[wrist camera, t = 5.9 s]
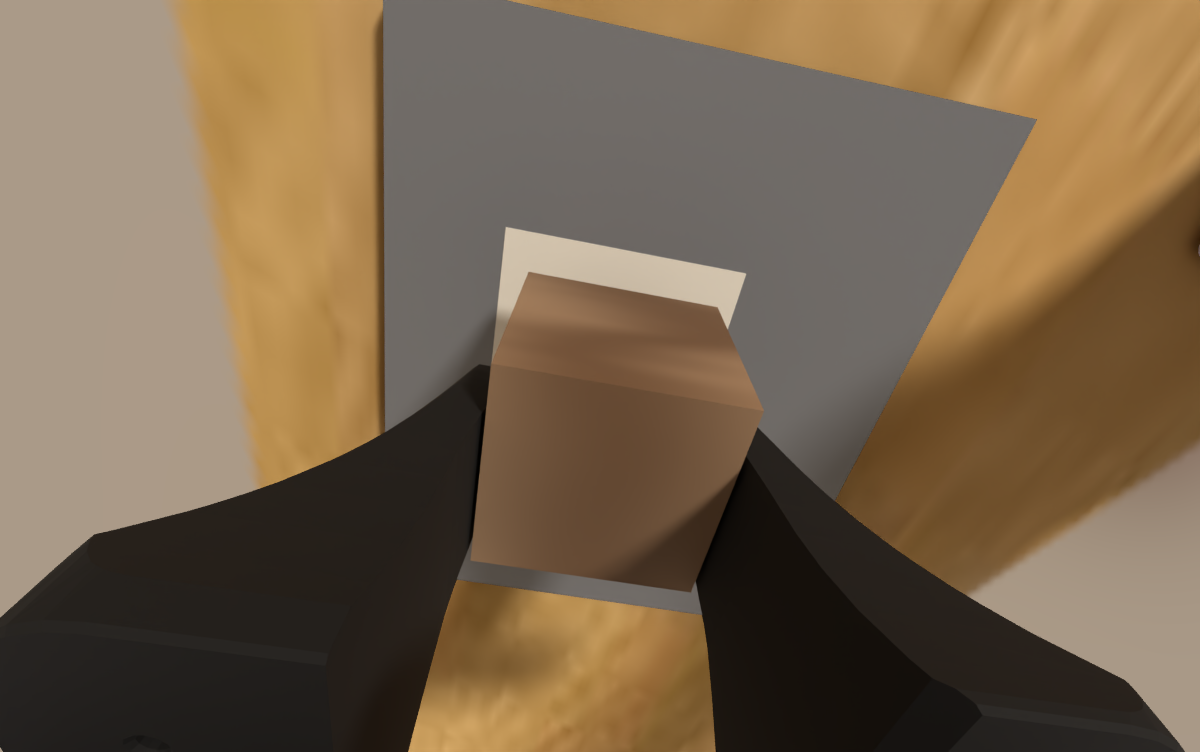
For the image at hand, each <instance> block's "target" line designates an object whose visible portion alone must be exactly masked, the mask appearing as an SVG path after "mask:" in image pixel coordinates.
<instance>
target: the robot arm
mask: <svg viewBox="0 0 1200 752" xmlns="http://www.w3.org/2000/svg"><path fill="white" fill-rule="evenodd" d="M1198 254H1199V256H1200V245H1199V251H1198ZM490 369H491V366H487V365H481V364H479V365H477V366H476V367H474V368H473V369H471V370H470V371H469V372H468V373H467V374H465V375H464V376H463V377H462V378H460V379H459V380H458V381H457V382H456V383H454V384H453V385H452V386H451V387H449V388H448V389H447V390H445V391H444V392H443V393H442V394H440V395H439V396H438V397H436V398H435V399H434V400H432V401H431V402H429V403H428V404H427V405H425V406H424V407H423V408H421V409H420V410H418V411H417V412H416V413H414V414H413V415H411V416H410V417H408V418H406V419H405V420H403V421H402V422H400V423H399V424H397V425H396V426H394V427H393V428H391V429H389V430H388V431H386V432H385V433H383V434H381V435H380V436H378V437H376V438H374V439H373V440H371V441H369V442H367V443H365V444H363V445H361V446H359V447H357V448H355V449H353V450H351V451H349V452H347V453H345V454H343V455H341V456H339V457H337V458H335V459H333V460H331V461H328V462H326V463H323V464H321V465H319V466H316V467H314V468H311V469H309V470H307V471H304V472H302V473H299V474H297V475H295V476H292V477H290V478H287V479H285V480H283V481H280V482H277V483H274V484H272V485H269V486H266V487H263V488H260V489H257V490H255V491H252V492H249V493H246V494H243V495H240V496H237V497H234V498H230V499H227V500H224V501H221V502H218V503H214V504H211V505H208V506H205V507H201V508H198V509H194V510H191V511H187V512H183V513H180V514H175V515H171V516H167V517H164V518H160V519H156V520H152V521H148V522H144V523H140V524H136V525H132V526H128V527H125V528H120V529H117V530H112V531H108V532H103V533H99V534H95V535H93V536H92V537H91V538H90V539H88V540H87V541H86V542H85V543H84V544H82V545H81V546H80V547H79V548H78V549H77V550H75V551H74V552H73V553H72V554H71V555H70V556H68V557H67V558H66V559H65V560H64V561H63V562H62V563H60V564H59V565H58V566H57V567H56V568H55V569H54V570H53V571H52V572H50V573H49V574H48V575H47V576H46V577H45V578H44V579H43V580H41V581H40V582H39V583H38V584H37V585H36V586H35V587H34V588H33V589H31V590H30V591H29V592H28V593H27V594H26V595H25V596H24V597H23V598H22V599H20V600H19V601H18V602H17V603H16V604H15V605H14V606H13V607H12V608H10V609H9V610H8V611H7V612H6V613H5V614H4V615H3V616H2V617H0V748H1V749H2V751H3V752H408V750H409V746H410V742H411V738H412V734H413V731H414V727H415V723H416V719H417V715H418V711H419V708H420V704H421V700H422V696H423V693H424V689H425V685H426V681H427V678H428V674H429V670H430V666H431V663H432V659H433V655H434V652H435V648H436V644H437V641H438V637H439V633H440V630H441V626H442V622H443V619H444V615H445V612H446V609H447V606H448V603H449V600H450V597H451V594H452V591H453V588H454V585H455V583H456V580H457V577H458V575H459V572H460V570H461V567H462V564H463V562H464V559H465V557H466V554H467V551H468V549H469V546H470V544H471V541H472V538H473V532H474V522H475V513H476V503H477V494H478V484H479V474H480V465H481V455H482V446H483V436H484V427H485V417H486V408H487V398H488V389H489V379H490ZM696 586H697V591H698V596H699V601H700V607H701V612H702V617H703V622H704V628H705V634H706V641H707V647H708V658H709V669H710V680H711V691H712V703H713V717H714V732H715V746H716V752H1185V751H1184V750H1183V748H1182V747H1181V746H1180V744H1179V743H1178V742H1177V740H1176V739H1175V738H1174V737H1173V735H1172V734H1171V733H1170V732H1169V731H1168V729H1167V728H1166V727H1165V726H1164V725H1163V723H1162V722H1161V721H1160V720H1159V719H1158V717H1157V716H1156V715H1155V714H1154V713H1153V712H1152V710H1151V709H1150V708H1149V707H1148V705H1147V704H1146V703H1145V702H1144V701H1143V699H1142V698H1141V697H1140V696H1139V695H1138V693H1137V692H1136V691H1135V690H1134V689H1133V688H1132V687H1131V686H1130V685H1129V683H1127V682H1126V681H1125V680H1124V679H1122V678H1120V677H1118V676H1116V675H1113V674H1112V673H1110V672H1108V671H1106V670H1104V669H1102V668H1100V667H1098V666H1096V665H1094V664H1092V663H1090V662H1088V661H1086V660H1084V659H1082V658H1080V657H1078V656H1076V655H1074V654H1072V653H1070V652H1068V651H1066V650H1064V649H1062V648H1060V647H1058V646H1056V645H1054V644H1052V643H1050V642H1048V641H1046V640H1044V639H1042V638H1040V637H1038V636H1036V635H1034V634H1032V633H1030V632H1029V631H1027V630H1025V629H1023V628H1021V627H1020V626H1018V625H1016V624H1015V623H1013V622H1011V621H1009V620H1007V619H1006V618H1004V617H1002V616H1000V615H999V614H997V613H995V612H993V611H992V610H990V609H988V608H986V607H985V606H983V605H981V604H979V603H978V602H976V601H974V600H973V599H971V598H969V597H968V596H966V595H965V594H963V593H961V592H960V591H958V590H956V589H955V588H953V587H951V586H950V585H948V584H947V583H945V582H944V581H942V580H941V579H939V578H938V577H936V576H935V575H933V574H931V573H930V572H928V571H927V570H925V569H924V568H922V567H921V566H919V565H918V564H916V563H915V562H913V561H912V560H910V559H909V558H907V557H906V556H905V555H903V554H902V553H900V552H899V551H897V550H896V549H895V548H893V547H892V546H890V545H889V544H888V543H886V542H885V541H884V540H883V539H881V538H880V537H879V536H877V535H876V534H875V533H873V532H872V531H871V530H869V529H868V528H867V527H866V526H864V525H863V524H862V523H860V522H859V521H858V520H856V519H855V518H854V517H853V516H852V515H850V514H849V513H848V512H847V511H846V510H844V509H843V508H842V507H841V506H840V505H839V504H837V503H836V502H835V501H834V500H833V499H832V498H831V497H829V496H828V495H827V494H826V493H825V492H824V491H823V490H822V489H820V488H819V487H818V486H817V485H816V484H815V483H814V482H813V481H812V480H811V479H810V478H809V477H807V476H806V475H805V474H804V473H803V472H802V471H801V470H800V469H799V468H798V467H797V466H796V465H795V464H794V463H793V462H792V461H791V460H790V459H789V458H788V457H787V456H786V455H785V454H784V453H783V452H782V451H781V450H780V449H779V448H778V447H777V446H776V445H775V444H774V443H773V442H772V441H771V440H770V439H769V438H768V437H767V436H766V435H765V434H764V433H763V432H762V431H761V430H760V429H759V428H758V427H757V430H756V432H755V435H754V437H753V440H752V442H751V445H750V447H749V450H748V452H747V455H746V457H745V460H744V462H743V465H742V467H741V470H740V472H739V475H738V477H737V479H736V482H735V484H734V487H733V489H732V492H731V494H730V497H729V499H728V502H727V504H726V507H725V509H724V512H723V514H722V517H721V519H720V522H719V524H718V527H717V529H716V532H715V534H714V537H713V539H712V542H711V544H710V547H709V549H708V552H707V554H706V556H705V559H704V561H703V564H702V566H701V569H700V571H699V574H698V576H697V579H696Z"/></svg>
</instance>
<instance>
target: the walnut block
mask: <svg viewBox="0 0 1200 752" xmlns="http://www.w3.org/2000/svg"><path fill="white" fill-rule="evenodd" d="M763 412H764V410H763V407H762V405H761V403H760V401H759V398H758V396H757V394H756V392H755V389H754V387H753V385H752V383H751V381H750V378H749V376H748V374H747V372H746V369H745V367H744V365H743V363H742V360H741V358H740V356H739V354H738V352H737V349H736V347H735V345H734V343H733V340H732V338H731V336H730V334H729V331H728V329H727V327H726V325H725V323H724V320H723V318H722V316H721V314H720V311H719V309H718V307H714V306H709V305H703V304H698V303H693V302H687V301H682V300H677V299H671V298H666V297H661V296H655V295H650V294H645V293H639V292H634V291H629V290H623V289H618V288H613V287H607V286H602V285H597V284H591V283H586V282H581V281H575V280H570V279H565V278H559V277H554V276H549V275H543V274H538V273H533V272H528V274H527V277H526V279H525V282H524V284H523V287H522V289H521V291H520V294H519V296H518V299H517V301H516V304H515V306H514V309H513V311H512V314H511V316H510V318H509V321H508V323H507V326H506V328H505V331H504V333H503V336H502V338H501V341H500V343H499V345H498V348H497V350H496V353H495V355H494V358H493V360H492V363H491V369H490V379H489V389H488V398H487V408H486V417H485V427H484V436H483V446H482V455H481V465H480V474H479V484H478V494H477V503H476V513H475V522H474V532H473V541H472V551H471V561H477V562H484V563H491V564H498V565H505V566H512V567H519V568H525V569H532V570H539V571H546V572H553V573H560V574H567V575H573V576H580V577H587V578H594V579H601V580H608V581H615V582H621V583H628V584H635V585H642V586H649V587H656V588H663V589H669V590H676V591H683V592H690V593H691V591H692V589H693V586H694V584H695V581H696V579H697V576H698V574H699V571H700V569H701V566H702V564H703V561H704V559H705V556H706V554H707V552H708V549H709V547H710V544H711V542H712V539H713V537H714V534H715V532H716V529H717V527H718V524H719V522H720V519H721V517H722V514H723V512H724V509H725V507H726V504H727V502H728V499H729V497H730V494H731V492H732V489H733V487H734V484H735V482H736V479H737V477H738V475H739V472H740V470H741V467H742V465H743V462H744V460H745V457H746V455H747V452H748V450H749V447H750V445H751V442H752V440H753V437H754V435H755V432H756V430H757V427H758V425H759V422H760V420H761V417H762V415H763Z"/></svg>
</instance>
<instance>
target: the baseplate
mask: <svg viewBox="0 0 1200 752" xmlns="http://www.w3.org/2000/svg"><path fill="white" fill-rule="evenodd" d="M383 81H384V300H385V432H386V431H388V430H389V429H391V428H393V427H394V426H396V425H397V424H399V423H400V422H402V421H403V420H405V419H406V418H408V417H410V416H411V415H413V414H414V413H416V412H417V411H418V410H420V409H421V408H423V407H424V406H425V405H427V404H428V403H429V402H431V401H432V400H434V399H435V398H436V397H438V396H439V395H440V394H442V393H443V392H444V391H445V390H447V389H448V388H449V387H451V386H452V385H453V384H454V383H456V382H457V381H458V380H459V379H460V378H462V377H463V376H464V375H465V374H467V373H468V372H469V371H470V370H471V369H473V368H474V367H476V366H477V365H479V364H481V365H487V366H491V363H492V360H493V358H494V355H495V353H496V350H497V348H498V345H499V343H500V341H501V338H502V336H503V333H504V331H505V328H506V326H507V323H508V321H509V318H510V316H511V314H512V311H513V309H514V306H515V304H516V301H517V299H518V296H519V294H520V291H521V289H522V287H523V284H524V282H525V279H526V277H527V274H528V272H533V273H538V274H543V275H549V276H554V277H559V278H565V279H570V280H575V281H581V282H586V283H591V284H597V285H602V286H607V287H613V288H618V289H623V290H629V291H634V292H639V293H645V294H650V295H655V296H661V297H666V298H671V299H677V300H682V301H687V302H693V303H698V304H703V305H709V306H714V307H718V309H719V311H720V314H721V316H722V318H723V320H724V323H725V325H726V327H727V329H728V331H729V334H730V336H731V338H732V340H733V343H734V345H735V347H736V349H737V352H738V354H739V356H740V358H741V360H742V363H743V365H744V367H745V369H746V372H747V374H748V376H749V378H750V381H751V383H752V385H753V387H754V389H755V392H756V394H757V396H758V398H759V401H760V403H761V405H762V407H763V410H764V412H763V415H762V417H761V420H760V422H759V425H758V428H759V429H760V430H761V431H762V432H763V433H764V434H765V435H766V436H767V437H768V438H769V439H770V440H771V441H772V442H773V443H774V444H775V445H776V446H777V447H778V448H779V449H780V450H781V451H782V452H783V453H784V454H785V455H786V456H787V457H788V458H789V459H790V460H791V461H792V462H793V463H794V464H795V465H796V466H797V467H798V468H799V469H800V470H801V471H802V472H803V473H804V474H805V475H806V476H807V477H809V478H810V479H811V480H812V481H813V482H814V483H815V484H816V485H817V486H818V487H819V488H820V489H822V490H823V491H824V492H825V493H826V494H827V495H828V496H829V497H831V498H832V499H833V500H834V501H835V500H836V498H837V496H838V494H839V492H840V490H841V488H842V486H843V485H844V483H845V481H846V479H847V477H848V475H849V473H850V471H851V469H852V468H853V466H854V464H855V462H856V460H857V458H858V456H859V454H860V453H861V451H862V449H863V447H864V445H865V443H866V441H867V439H868V437H869V436H870V434H871V432H872V430H873V428H874V426H875V424H876V422H877V420H878V419H879V417H880V415H881V413H882V411H883V409H884V407H885V405H886V403H887V402H888V400H889V398H890V396H891V394H892V392H893V390H894V388H895V386H896V385H897V383H898V381H899V379H900V377H901V375H902V373H903V371H904V370H905V368H906V366H907V364H908V362H909V360H910V358H911V356H912V354H913V353H914V351H915V349H916V347H917V345H918V343H919V341H920V339H921V337H922V336H923V334H924V332H925V330H926V328H927V326H928V324H929V322H930V320H931V319H932V317H933V315H934V313H935V311H936V309H937V307H938V305H939V303H940V302H941V300H942V298H943V296H944V294H945V292H946V290H947V288H948V287H949V285H950V283H951V281H952V279H953V277H954V275H955V273H956V271H957V270H958V268H959V266H960V264H961V262H962V260H963V258H964V256H965V254H966V253H967V251H968V249H969V247H970V245H971V243H972V241H973V239H974V237H975V236H976V234H977V232H978V230H979V228H980V226H981V224H982V222H983V221H984V219H985V217H986V215H987V213H988V211H989V209H990V207H991V205H992V204H993V202H994V200H995V198H996V196H997V194H998V192H999V190H1000V188H1001V187H1002V185H1003V183H1004V181H1005V179H1006V177H1007V175H1008V173H1009V171H1010V170H1011V168H1012V166H1013V164H1014V162H1015V160H1016V158H1017V156H1018V154H1019V153H1020V151H1021V149H1022V147H1023V145H1024V143H1025V141H1026V139H1027V138H1028V136H1029V134H1030V132H1031V130H1032V128H1033V126H1034V124H1035V122H1036V121H1037V119H1032V118H1028V117H1023V116H1019V115H1014V114H1010V113H1006V112H1001V111H997V110H992V109H988V108H983V107H979V106H974V105H970V104H965V103H961V102H957V101H952V100H948V99H943V98H939V97H934V96H930V95H925V94H921V93H916V92H912V91H908V90H903V89H899V88H894V87H890V86H885V85H881V84H876V83H872V82H867V81H863V80H859V79H854V78H850V77H845V76H841V75H836V74H832V73H827V72H823V71H818V70H814V69H810V68H805V67H801V66H796V65H792V64H787V63H783V62H778V61H774V60H769V59H765V58H761V57H756V56H752V55H747V54H743V53H738V52H734V51H729V50H725V49H720V48H716V47H712V46H707V45H703V44H698V43H694V42H689V41H685V40H680V39H676V38H672V37H667V36H663V35H658V34H654V33H649V32H645V31H640V30H636V29H631V28H627V27H623V26H618V25H614V24H609V23H605V22H600V21H596V20H591V19H587V18H582V17H578V16H574V15H569V14H565V13H560V12H556V11H551V10H547V9H542V8H538V7H533V6H529V5H525V4H520V3H516V2H511V1H507V0H383ZM472 541H473V538H472ZM472 541H471V544H470V546H469V549H468V551H467V554H466V557H465V559H464V562H463V564H462V567H461V570H460V572H459V575H458V577H457V580H464V581H471V582H478V583H485V584H492V585H498V586H505V587H512V588H519V589H526V590H533V591H540V592H547V593H554V594H561V595H568V596H575V597H582V598H589V599H596V600H603V601H610V602H616V603H623V604H630V605H637V606H644V607H651V608H658V609H665V610H672V611H679V612H686V613H693V614H700V615H702V612H701V607H700V601H699V596H698V591H697V586H696V581H695V584H694V586H693V589H692V591H691V593H690V592H683V591H676V590H669V589H663V588H656V587H649V586H642V585H635V584H628V583H621V582H615V581H608V580H601V579H594V578H587V577H580V576H573V575H567V574H560V573H553V572H546V571H539V570H532V569H525V568H519V567H512V566H505V565H498V564H491V563H484V562H477V561H471V551H472Z"/></svg>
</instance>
